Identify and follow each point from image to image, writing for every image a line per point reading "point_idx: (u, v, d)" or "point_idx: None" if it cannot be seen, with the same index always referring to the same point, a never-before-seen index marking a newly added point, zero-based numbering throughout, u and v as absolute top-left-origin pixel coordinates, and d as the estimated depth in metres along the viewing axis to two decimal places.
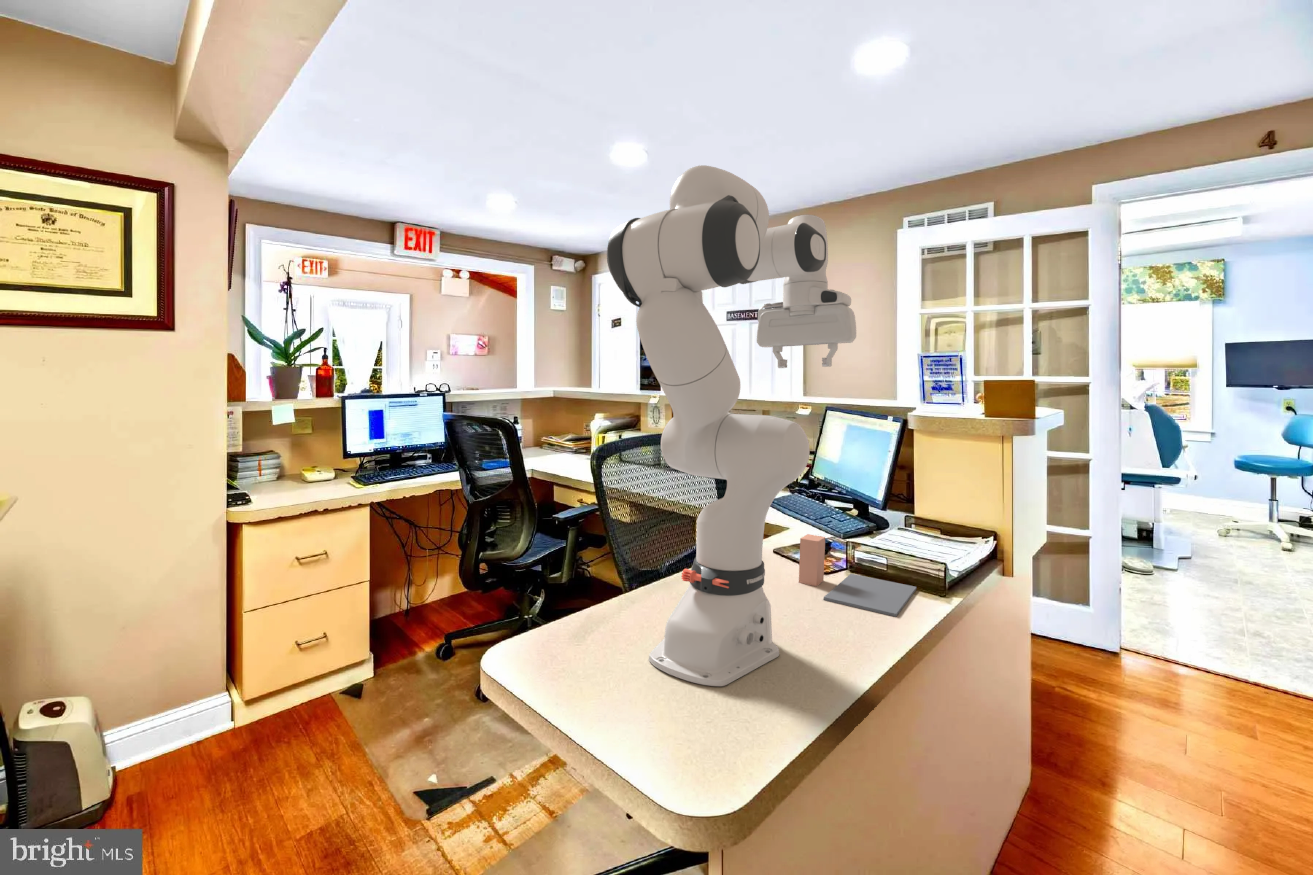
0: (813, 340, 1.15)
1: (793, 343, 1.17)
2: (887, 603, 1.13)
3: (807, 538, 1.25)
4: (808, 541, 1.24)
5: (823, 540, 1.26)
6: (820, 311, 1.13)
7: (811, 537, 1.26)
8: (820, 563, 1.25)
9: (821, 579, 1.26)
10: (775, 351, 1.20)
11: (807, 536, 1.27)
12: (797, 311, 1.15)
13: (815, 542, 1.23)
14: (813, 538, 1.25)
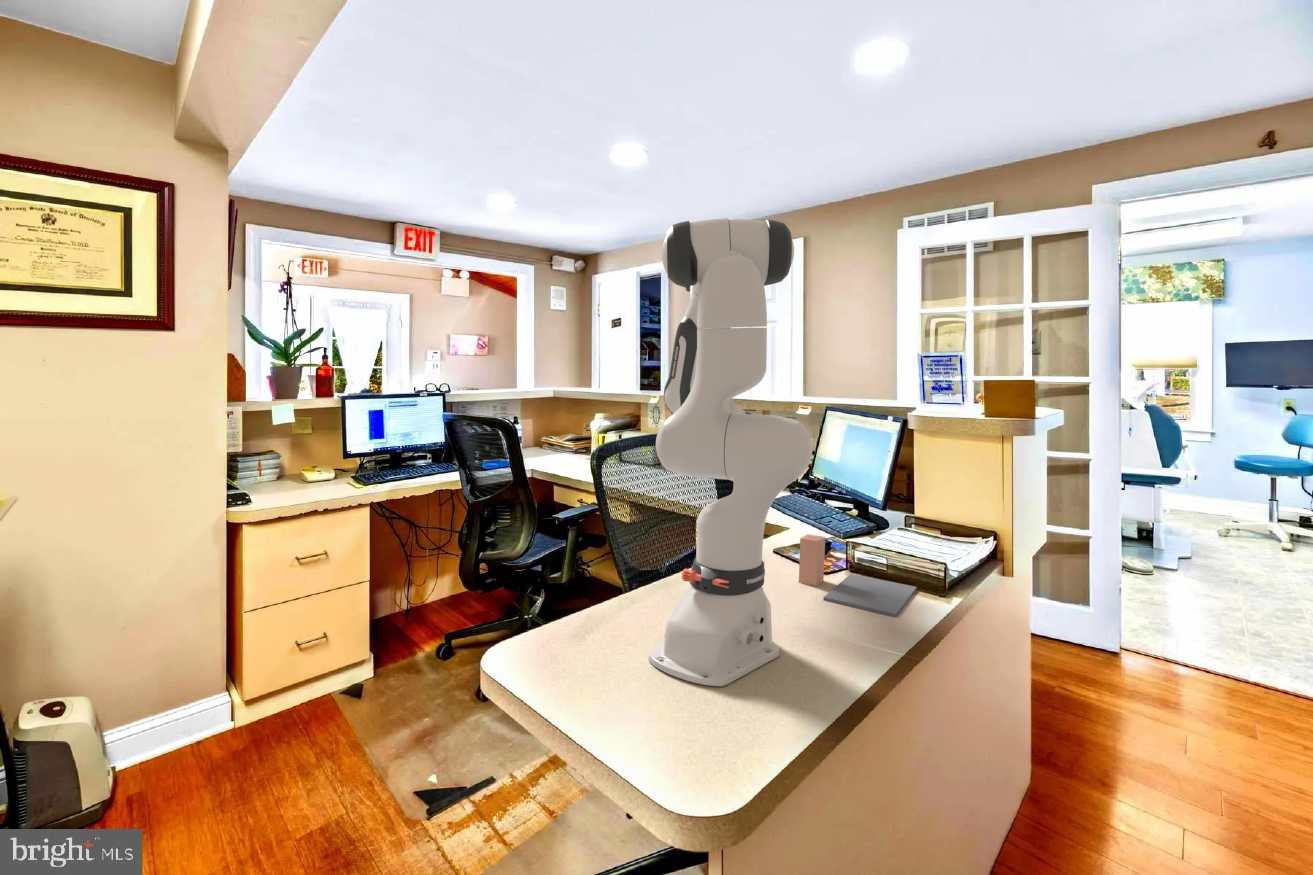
0: None
1: None
2: (887, 603, 1.13)
3: (807, 538, 1.25)
4: (808, 541, 1.24)
5: (823, 540, 1.26)
6: None
7: (811, 537, 1.26)
8: (820, 563, 1.25)
9: (821, 579, 1.26)
10: None
11: (807, 536, 1.27)
12: None
13: (815, 542, 1.23)
14: (813, 538, 1.25)
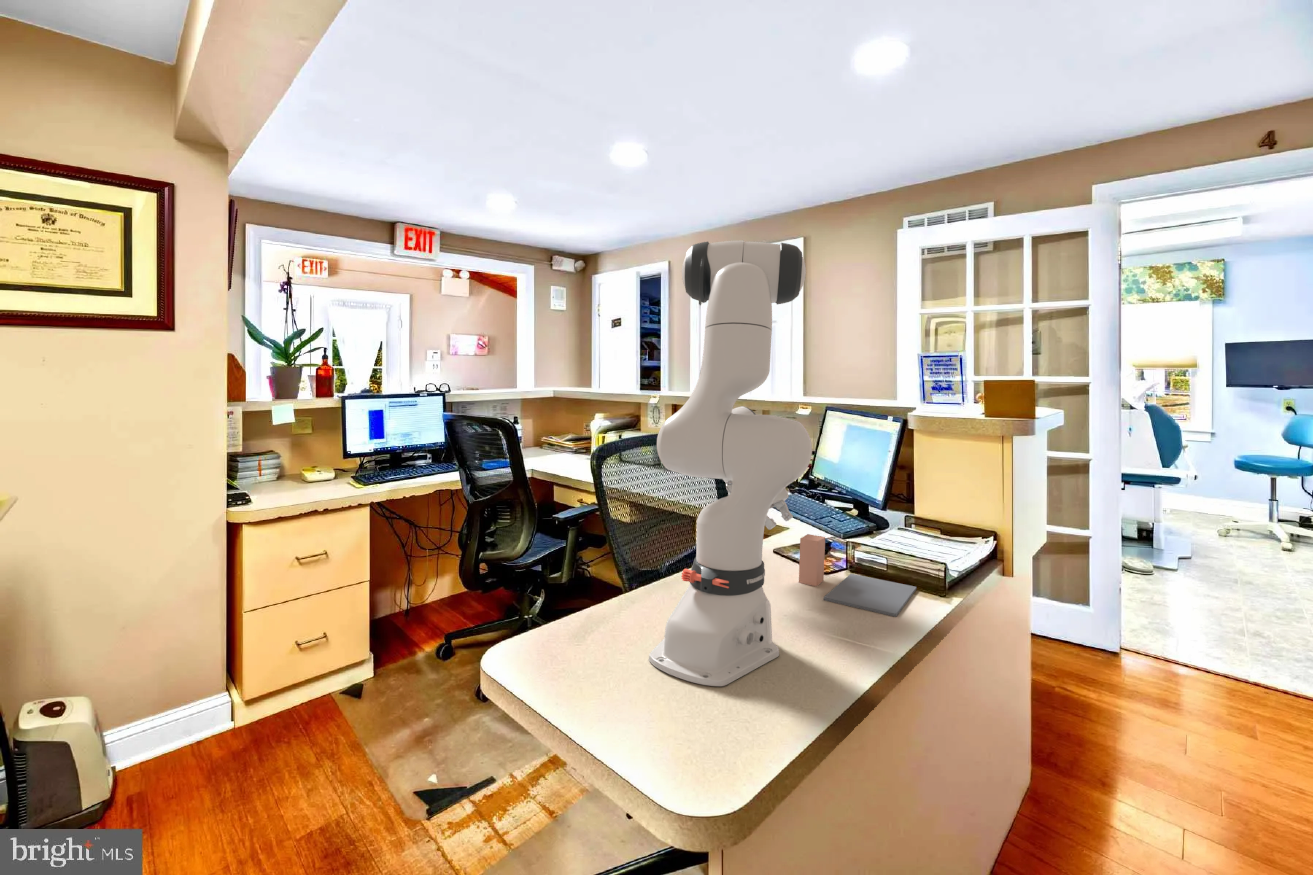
0: (776, 498, 1.33)
1: None
2: (887, 603, 1.13)
3: (807, 538, 1.25)
4: (808, 541, 1.24)
5: (823, 540, 1.26)
6: None
7: (811, 537, 1.26)
8: (820, 563, 1.25)
9: (821, 579, 1.26)
10: None
11: (807, 536, 1.27)
12: None
13: (815, 542, 1.23)
14: (813, 538, 1.25)
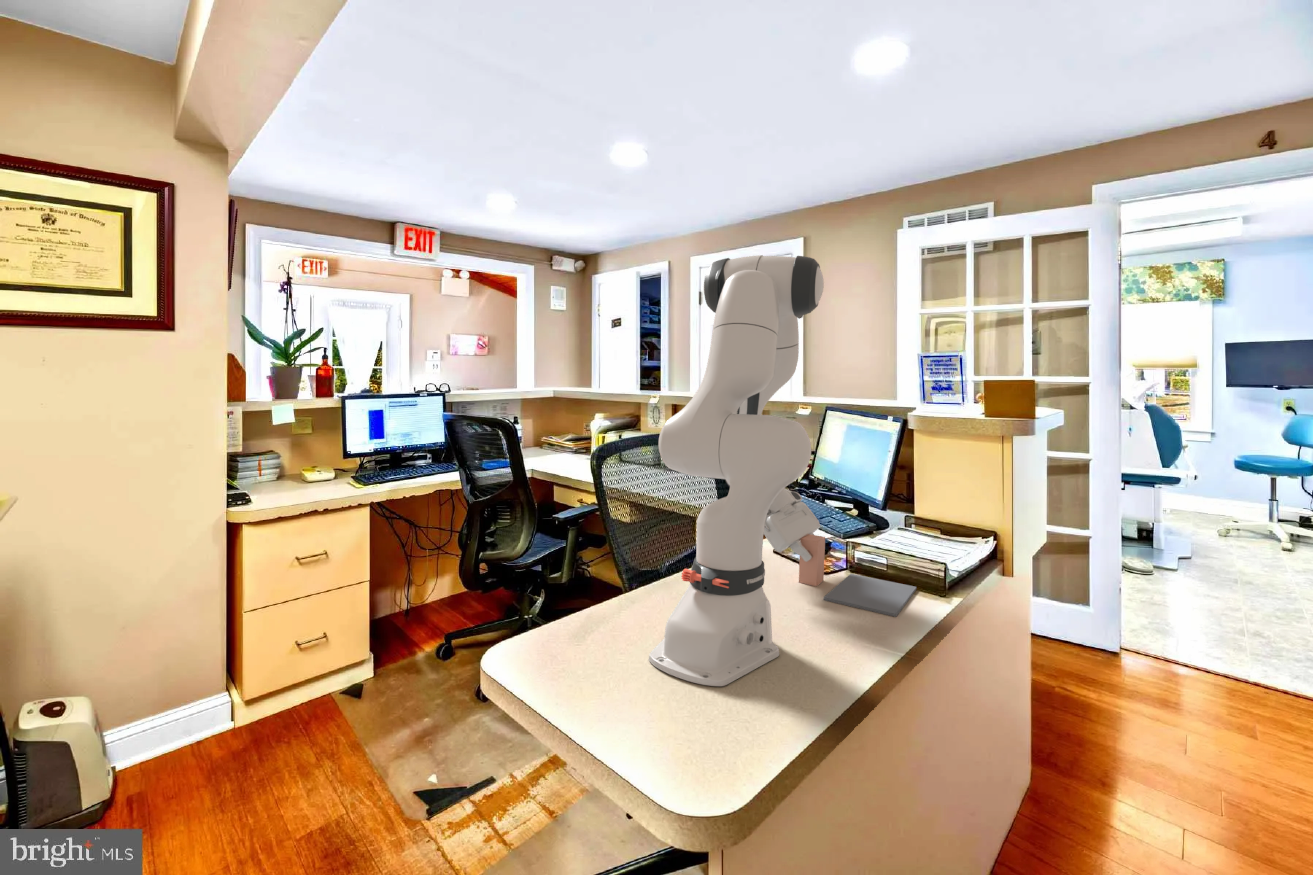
0: (809, 529, 1.29)
1: (802, 535, 1.25)
2: (887, 603, 1.13)
3: (807, 538, 1.25)
4: (808, 541, 1.24)
5: (823, 540, 1.26)
6: (797, 507, 1.32)
7: (811, 537, 1.26)
8: (820, 563, 1.25)
9: (821, 579, 1.26)
10: (800, 544, 1.23)
11: (807, 536, 1.27)
12: (791, 508, 1.28)
13: (815, 542, 1.23)
14: (813, 538, 1.25)
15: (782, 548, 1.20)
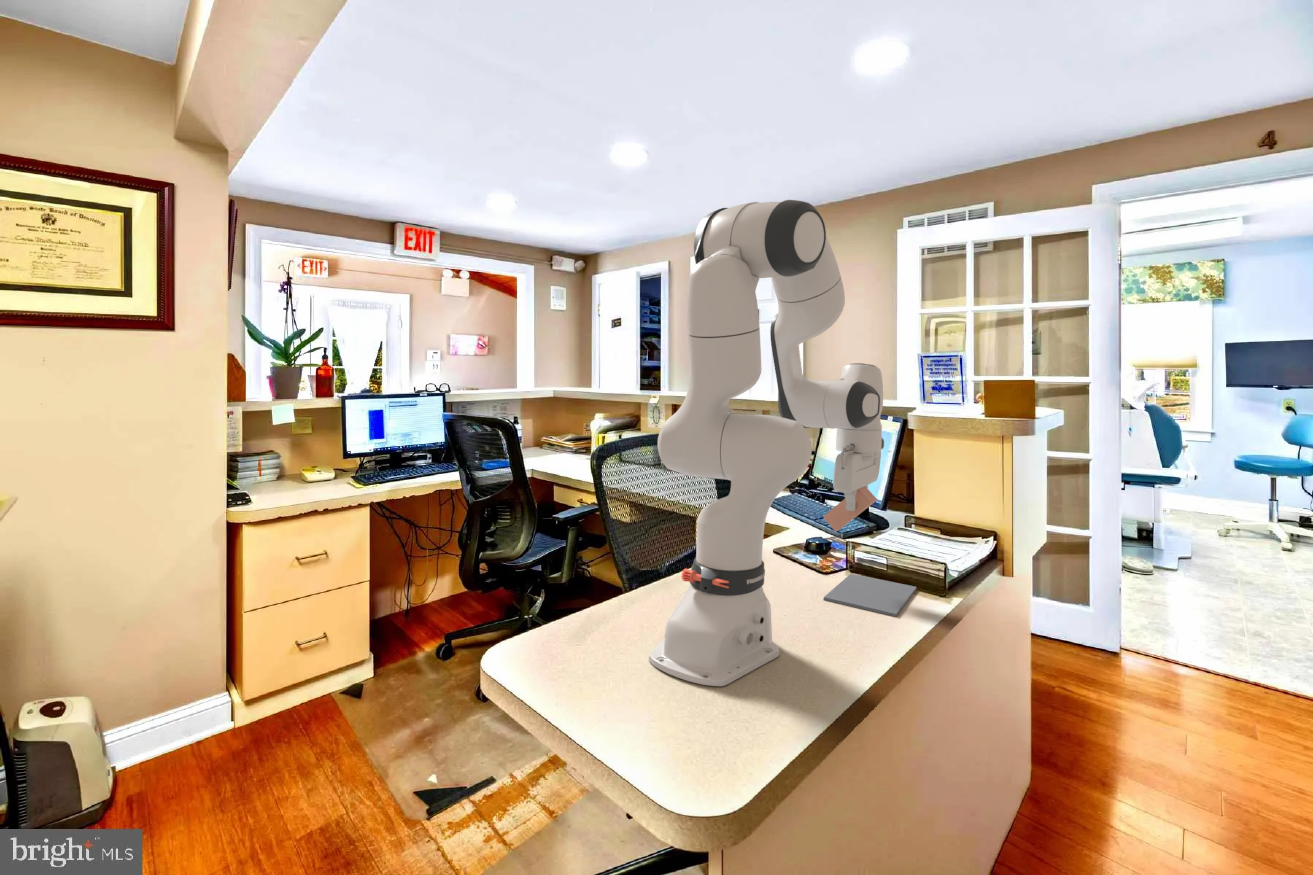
0: (868, 482, 1.20)
1: (862, 486, 1.17)
2: (887, 603, 1.13)
3: (863, 491, 1.17)
4: (863, 495, 1.16)
5: None
6: (874, 455, 1.21)
7: (866, 492, 1.18)
8: (854, 517, 1.20)
9: (842, 527, 1.22)
10: (855, 494, 1.15)
11: (863, 488, 1.19)
12: (872, 456, 1.16)
13: (868, 501, 1.16)
14: (868, 495, 1.17)
15: (841, 491, 1.12)
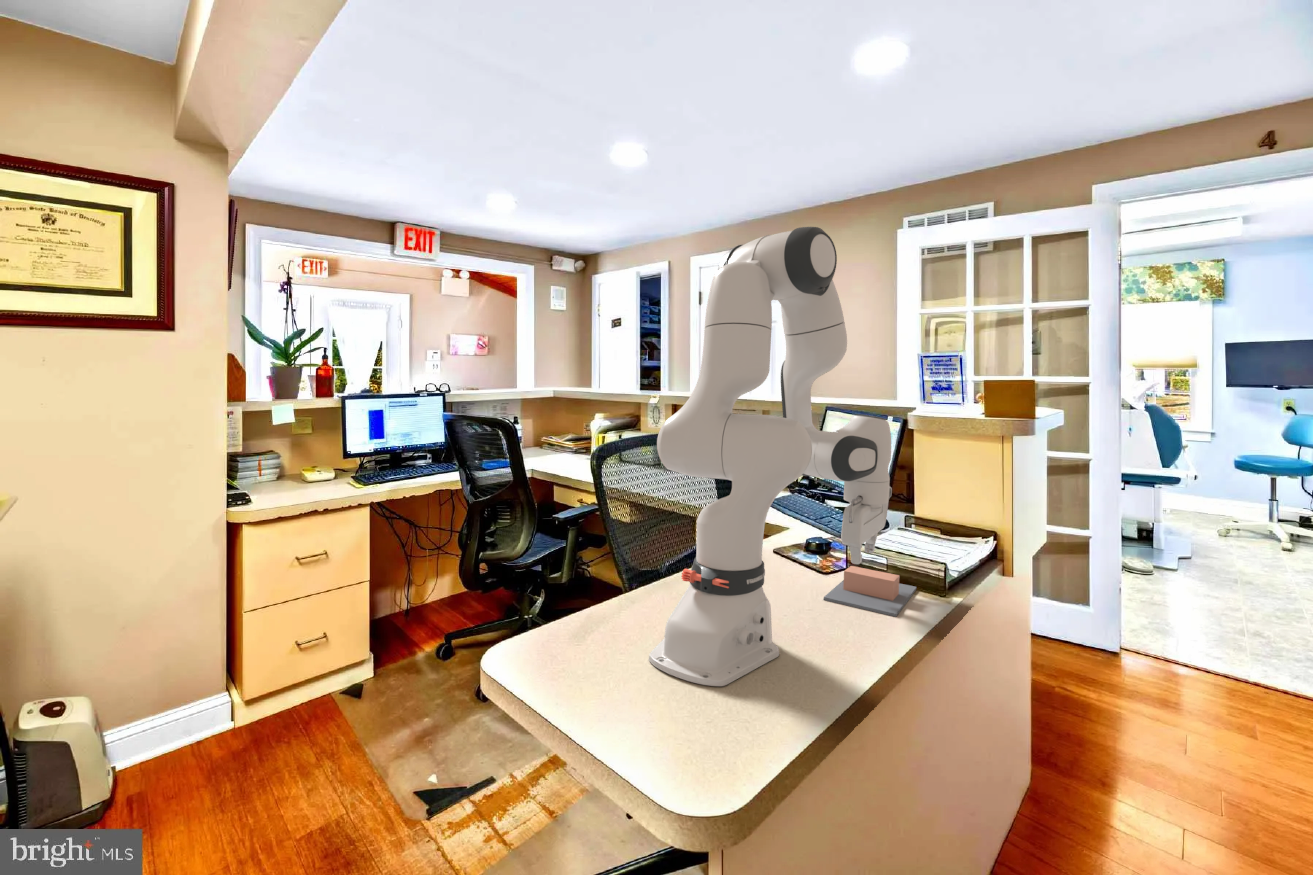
0: (876, 531, 1.20)
1: (870, 537, 1.17)
2: (887, 603, 1.13)
3: (894, 586, 1.15)
4: (891, 589, 1.14)
5: None
6: (882, 505, 1.20)
7: (896, 586, 1.16)
8: None
9: None
10: (860, 548, 1.14)
11: (896, 581, 1.16)
12: (880, 507, 1.16)
13: (891, 597, 1.14)
14: (895, 590, 1.16)
15: (849, 544, 1.11)
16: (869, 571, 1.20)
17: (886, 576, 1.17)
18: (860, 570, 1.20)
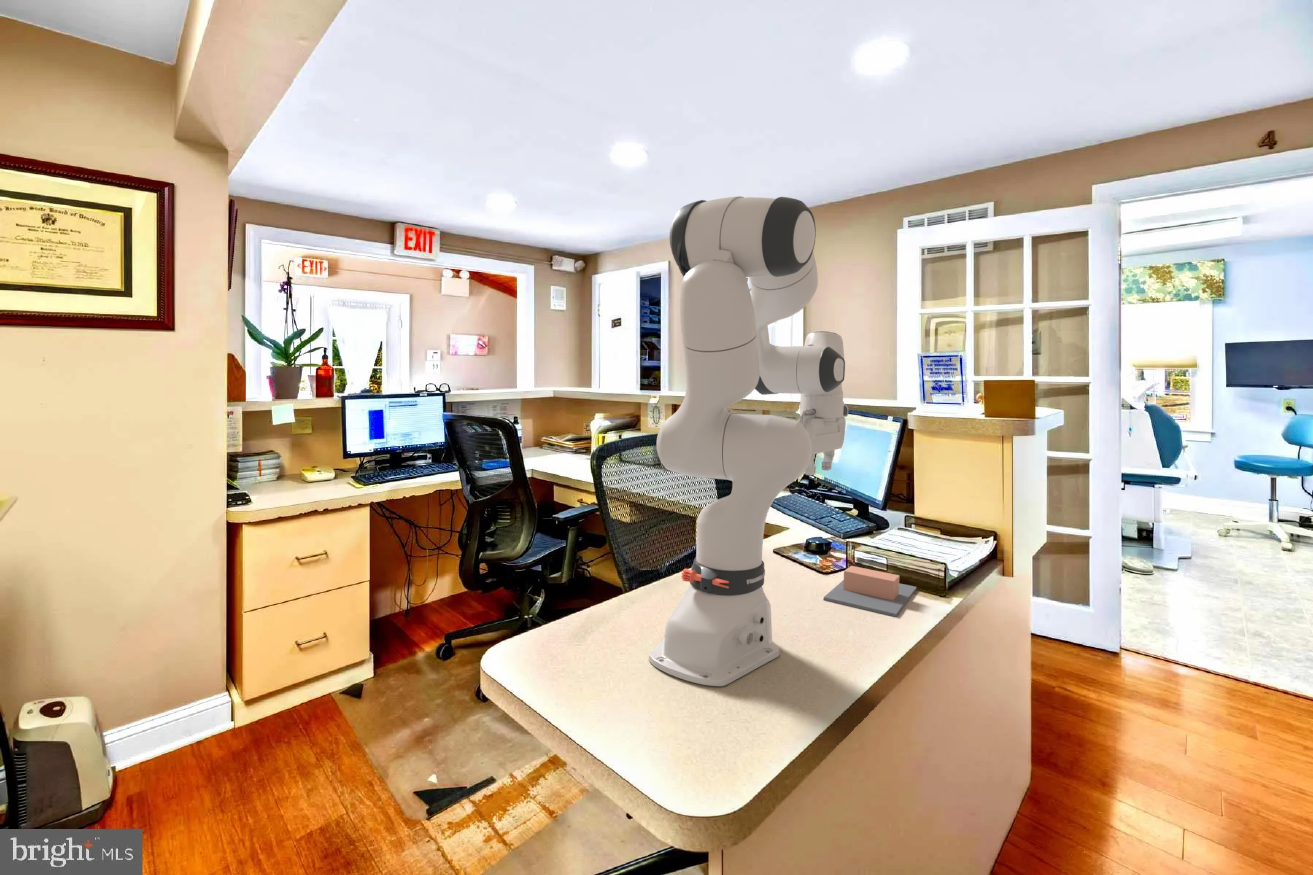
0: (831, 447, 1.24)
1: (824, 451, 1.21)
2: (887, 603, 1.13)
3: (894, 586, 1.15)
4: (891, 589, 1.14)
5: None
6: (838, 422, 1.25)
7: (896, 586, 1.16)
8: None
9: None
10: (813, 459, 1.18)
11: (896, 581, 1.16)
12: (833, 422, 1.21)
13: (891, 597, 1.14)
14: (895, 590, 1.16)
15: None
16: (869, 571, 1.20)
17: (886, 576, 1.17)
18: (860, 570, 1.20)
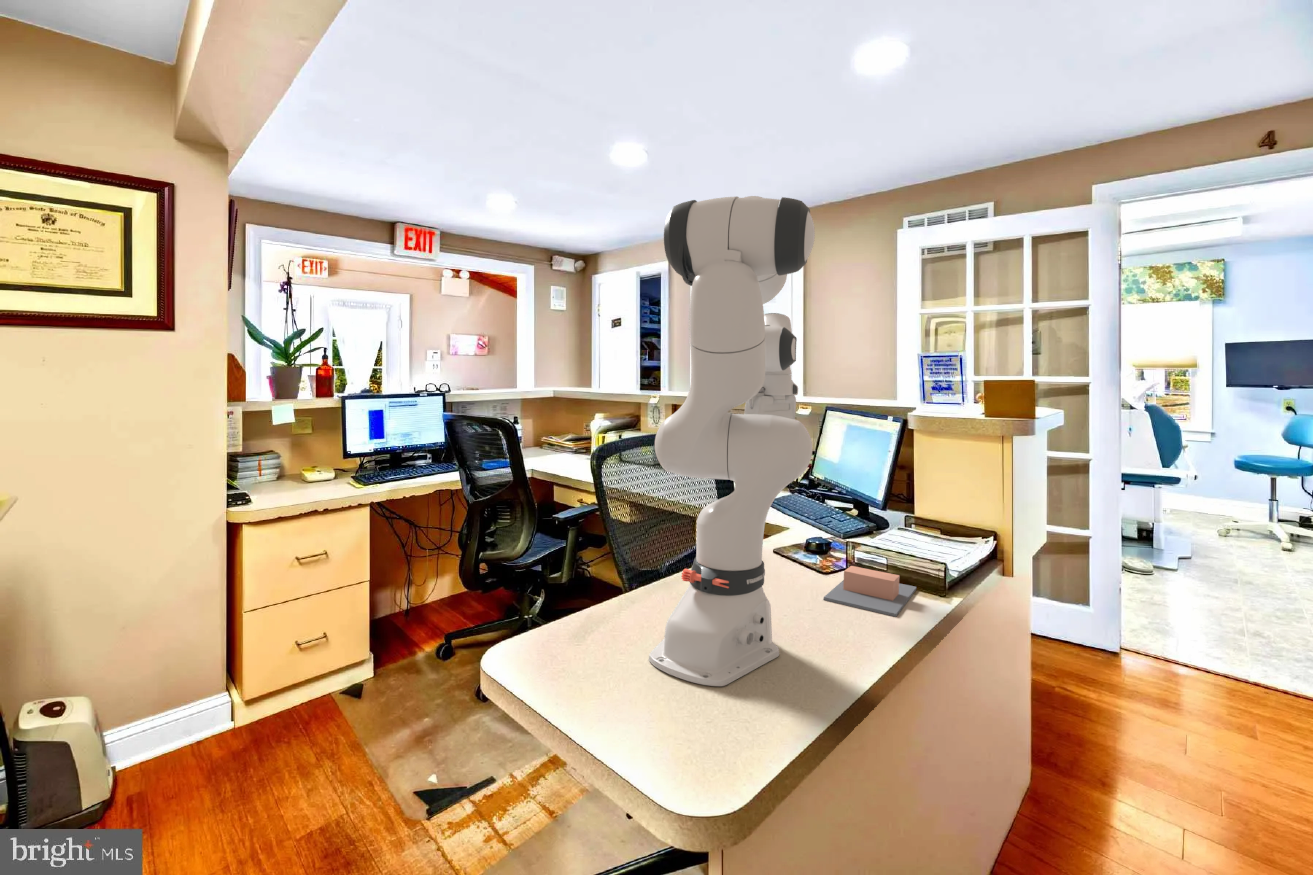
0: None
1: None
2: (887, 603, 1.13)
3: (894, 586, 1.15)
4: (891, 589, 1.14)
5: None
6: (787, 400, 1.31)
7: (896, 586, 1.16)
8: None
9: None
10: None
11: (896, 581, 1.16)
12: (782, 399, 1.27)
13: (891, 597, 1.14)
14: (895, 590, 1.16)
15: None
16: (869, 571, 1.20)
17: (886, 576, 1.17)
18: (860, 570, 1.20)
